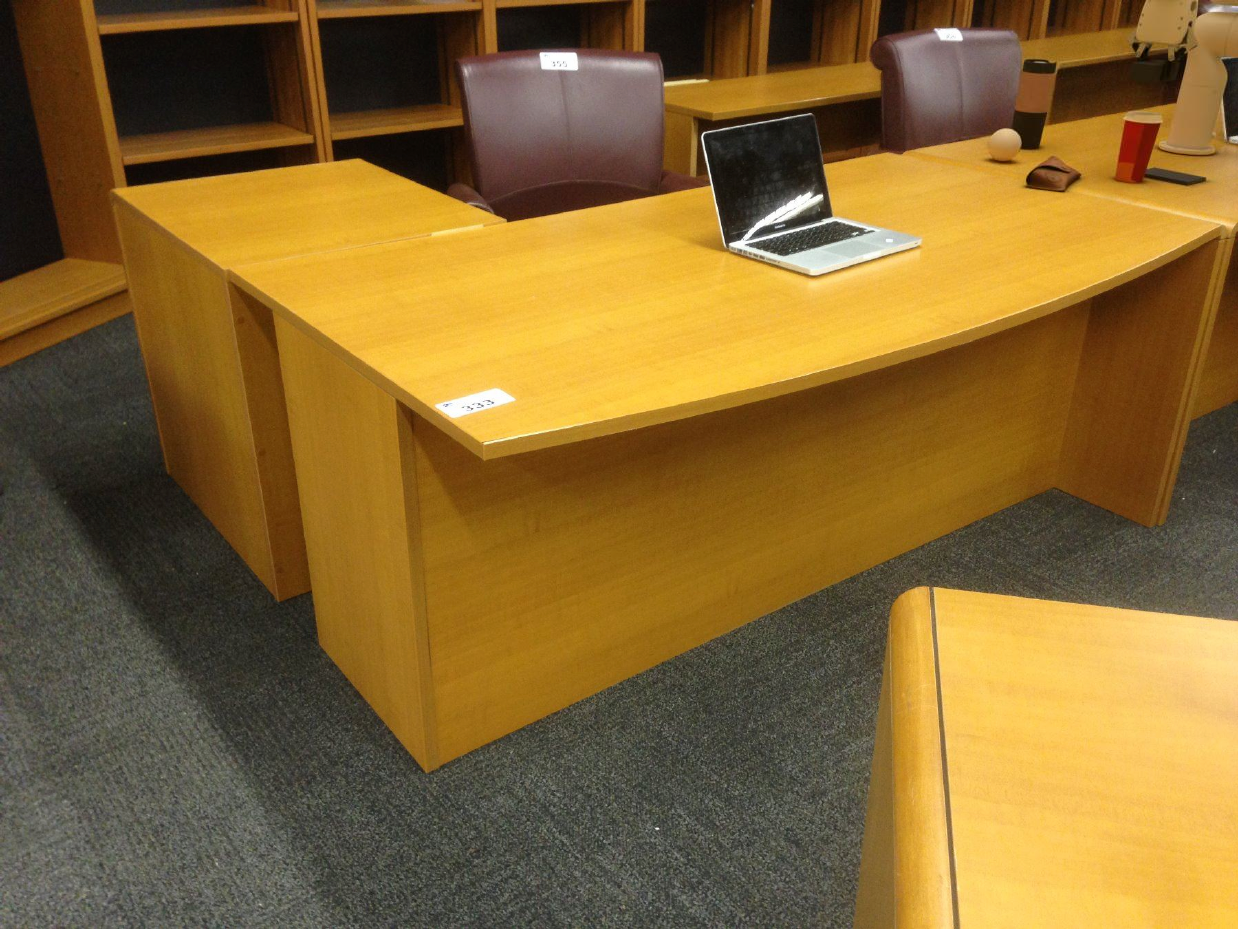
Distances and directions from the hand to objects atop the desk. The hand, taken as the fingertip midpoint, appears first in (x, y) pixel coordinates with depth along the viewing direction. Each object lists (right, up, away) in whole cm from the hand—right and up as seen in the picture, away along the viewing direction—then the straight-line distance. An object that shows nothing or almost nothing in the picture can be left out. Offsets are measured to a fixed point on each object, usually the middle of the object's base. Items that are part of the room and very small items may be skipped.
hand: (1152, 77), depth 219 cm
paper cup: (0, -19, +10) cm, 21 cm away
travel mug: (-11, -2, +42) cm, 43 cm away
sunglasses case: (-18, -20, +7) cm, 28 cm away
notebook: (+10, -18, +12) cm, 24 cm away
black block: (0, 0, 0) cm, 0 cm away
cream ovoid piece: (-22, -10, +26) cm, 36 cm away
